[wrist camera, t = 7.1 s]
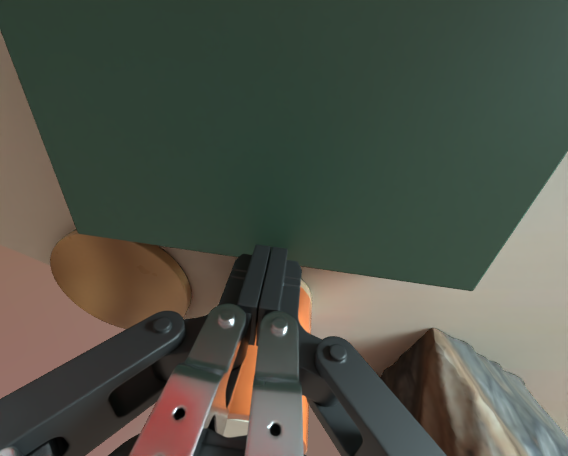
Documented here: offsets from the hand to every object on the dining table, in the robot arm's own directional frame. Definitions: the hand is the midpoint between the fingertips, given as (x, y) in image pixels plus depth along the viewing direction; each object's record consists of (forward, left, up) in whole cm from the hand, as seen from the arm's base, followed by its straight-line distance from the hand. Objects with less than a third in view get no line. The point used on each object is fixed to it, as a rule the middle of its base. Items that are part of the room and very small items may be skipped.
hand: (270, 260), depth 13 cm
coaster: (-11, -8, -4) cm, 14 cm away
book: (0, +6, -4) cm, 8 cm away
